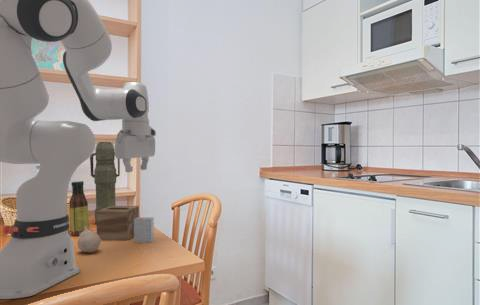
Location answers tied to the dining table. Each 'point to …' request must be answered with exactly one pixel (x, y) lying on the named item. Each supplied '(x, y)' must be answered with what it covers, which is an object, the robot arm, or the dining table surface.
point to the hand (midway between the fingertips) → (136, 170)
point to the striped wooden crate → (116, 222)
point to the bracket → (144, 229)
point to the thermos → (104, 175)
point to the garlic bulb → (88, 241)
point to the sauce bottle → (78, 209)
